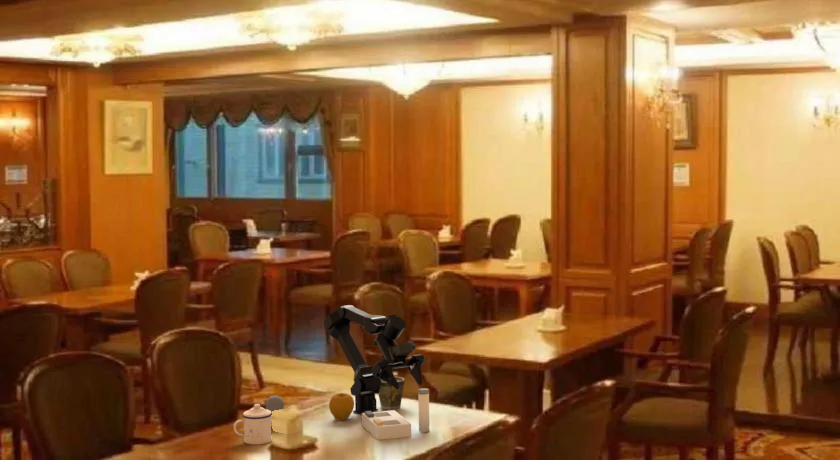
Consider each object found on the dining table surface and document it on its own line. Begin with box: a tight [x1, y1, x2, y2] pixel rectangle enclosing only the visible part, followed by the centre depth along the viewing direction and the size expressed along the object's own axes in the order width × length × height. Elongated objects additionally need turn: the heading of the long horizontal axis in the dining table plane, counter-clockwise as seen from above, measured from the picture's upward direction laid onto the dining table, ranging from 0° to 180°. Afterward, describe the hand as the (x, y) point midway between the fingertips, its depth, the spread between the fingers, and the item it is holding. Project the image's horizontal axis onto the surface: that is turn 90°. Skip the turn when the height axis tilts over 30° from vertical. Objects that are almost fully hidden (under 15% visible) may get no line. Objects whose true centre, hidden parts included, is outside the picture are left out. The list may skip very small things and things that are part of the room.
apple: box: [328, 392, 355, 421], centre depth 371 cm, size 8×8×9 cm
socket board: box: [361, 409, 412, 441], centre depth 356 cm, size 19×11×5 cm, turn 17°
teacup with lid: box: [233, 403, 273, 446], centre depth 345 cm, size 12×9×12 cm
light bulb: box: [265, 395, 285, 412], centre depth 364 cm, size 6×6×10 cm
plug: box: [417, 387, 430, 433], centre depth 354 cm, size 4×4×14 cm
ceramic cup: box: [377, 375, 405, 410], centre depth 385 cm, size 13×10×10 cm
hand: (409, 386), depth 360 cm, fingers open, 9 cm apart
